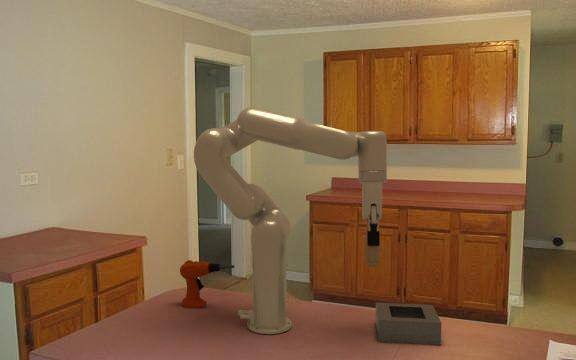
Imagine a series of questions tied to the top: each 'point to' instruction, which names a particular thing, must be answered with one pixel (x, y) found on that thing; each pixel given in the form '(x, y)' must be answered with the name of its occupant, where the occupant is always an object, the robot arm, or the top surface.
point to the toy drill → (197, 280)
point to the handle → (372, 251)
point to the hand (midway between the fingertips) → (373, 243)
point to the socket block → (407, 324)
